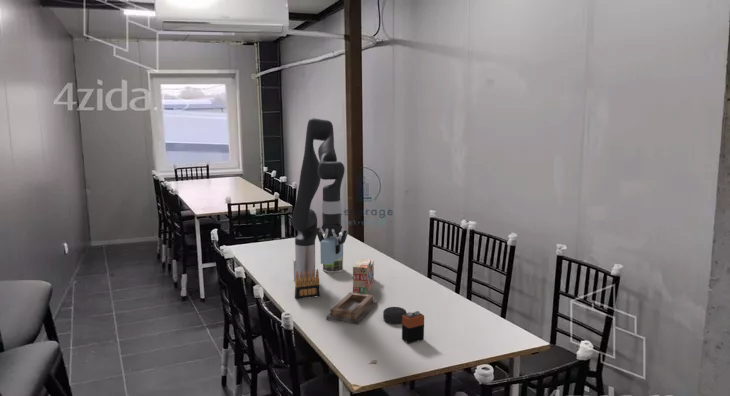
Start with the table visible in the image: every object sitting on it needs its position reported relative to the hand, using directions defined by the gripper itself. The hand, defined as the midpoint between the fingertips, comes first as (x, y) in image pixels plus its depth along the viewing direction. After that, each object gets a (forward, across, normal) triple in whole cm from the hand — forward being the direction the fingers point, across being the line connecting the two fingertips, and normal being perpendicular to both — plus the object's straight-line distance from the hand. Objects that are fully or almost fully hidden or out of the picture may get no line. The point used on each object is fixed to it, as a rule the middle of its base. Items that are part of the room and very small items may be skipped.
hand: (332, 252), depth 223 cm
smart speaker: (+22, +29, -7) cm, 37 cm away
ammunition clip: (+22, -13, +4) cm, 26 cm away
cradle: (+22, +11, -5) cm, 25 cm away
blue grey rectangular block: (+3, 0, 0) cm, 3 cm away
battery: (+22, +40, -22) cm, 51 cm away
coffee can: (+22, -18, +44) cm, 52 cm away
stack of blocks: (+22, +4, +26) cm, 34 cm away
